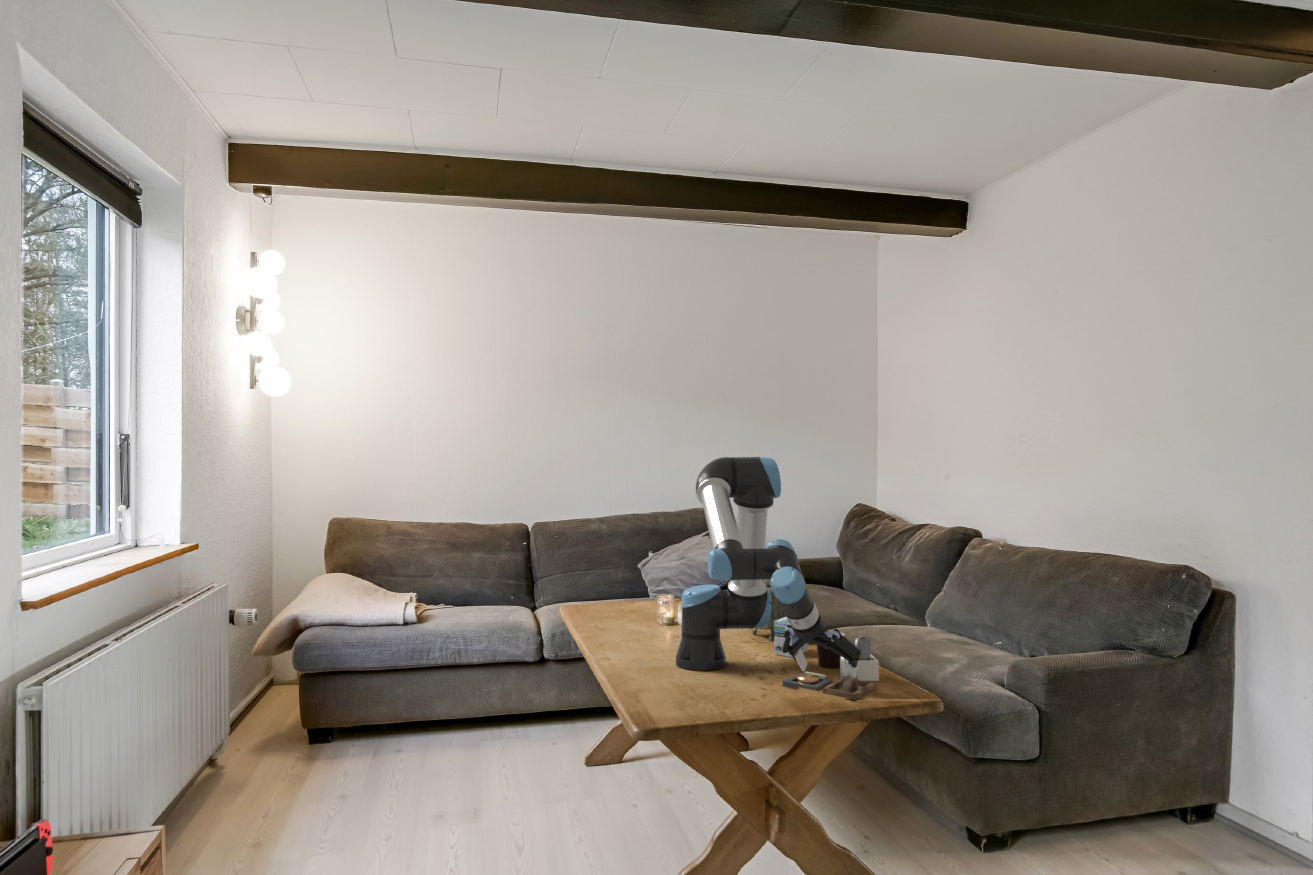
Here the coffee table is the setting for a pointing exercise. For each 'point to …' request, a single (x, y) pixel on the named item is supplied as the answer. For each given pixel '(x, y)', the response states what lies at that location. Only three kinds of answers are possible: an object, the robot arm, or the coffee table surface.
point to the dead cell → (863, 646)
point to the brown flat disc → (808, 679)
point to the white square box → (868, 669)
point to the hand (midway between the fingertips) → (829, 669)
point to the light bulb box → (783, 637)
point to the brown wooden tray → (862, 689)
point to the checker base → (793, 683)
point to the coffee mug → (828, 657)
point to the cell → (847, 678)
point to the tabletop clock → (772, 611)
